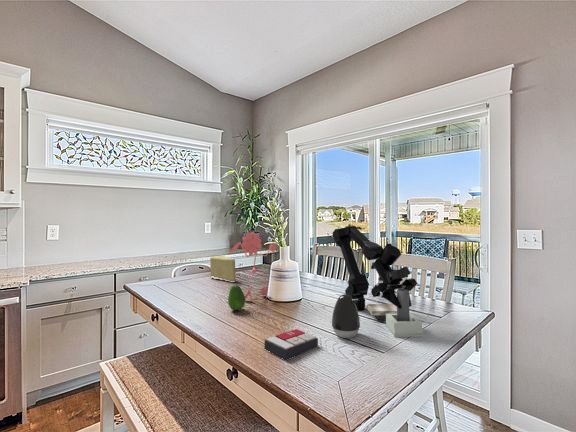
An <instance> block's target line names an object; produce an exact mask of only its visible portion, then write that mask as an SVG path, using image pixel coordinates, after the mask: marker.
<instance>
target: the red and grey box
mask: <svg viewBox="0 0 576 432" xmlns="http://www.w3.org/2000/svg"><path fill="white" fill-rule="evenodd" d="M317 347H319V339H318V337H317V336H315V335H313V334H310V333H307V332H305V331H302V330H300V329H298V328H296V329H292V330H289V331H286V332H282V333H280V334H276V335H274V336H271V337H268V338H266V339H264V347H263V348H264V349H266V350H268V351H270V352H271V353H273V354H275V355H276V356H275V355H274V356H275V357H277V356H278V357H277V358H279V357H280V358H279V359H281V358H283V359H284V360H283V359H282V360H283V361H285V360H287V359H289V358H291V359H293V358H295V357H297V356H298V355H302V354H304V353H306V352H309V351H310V349H311V350H314V349H315V348H317ZM264 349H263V350H264ZM308 350H309V351H308ZM271 353H270V354H271ZM273 354H272V355H273ZM294 356H295V357H294ZM292 357H293V358H292ZM289 360H290V359H289ZM287 361H288V360H287Z"/></svg>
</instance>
